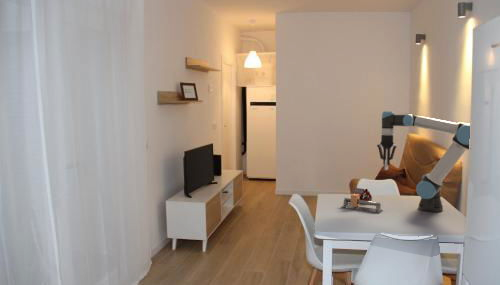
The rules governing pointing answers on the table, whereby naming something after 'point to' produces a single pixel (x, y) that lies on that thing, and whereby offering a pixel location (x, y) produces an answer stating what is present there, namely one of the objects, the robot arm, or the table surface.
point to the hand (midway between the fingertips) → (386, 169)
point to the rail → (365, 209)
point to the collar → (355, 199)
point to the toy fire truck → (361, 192)
